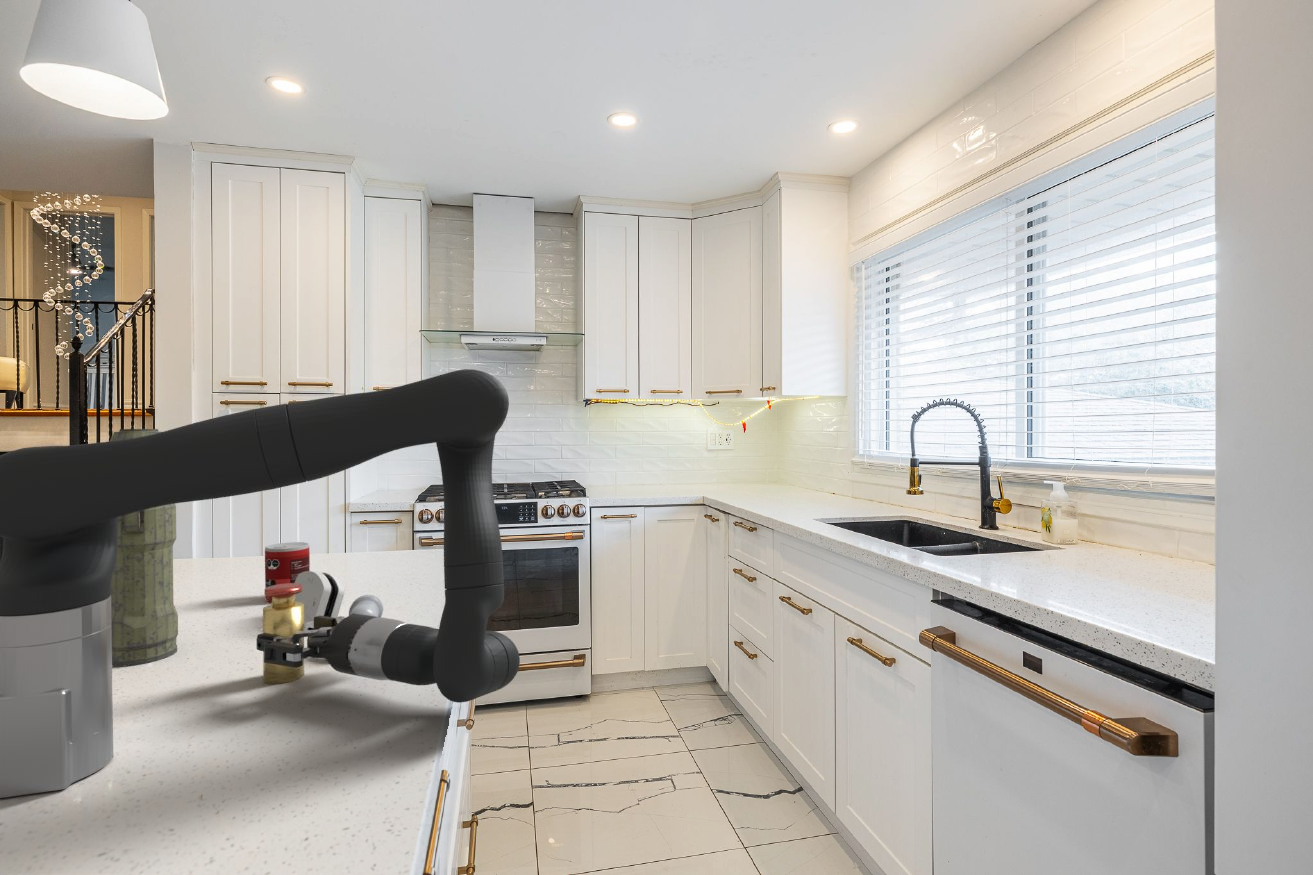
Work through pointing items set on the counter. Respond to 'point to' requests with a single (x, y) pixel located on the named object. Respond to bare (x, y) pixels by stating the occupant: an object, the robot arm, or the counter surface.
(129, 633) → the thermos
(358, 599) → the grey octagonal holder
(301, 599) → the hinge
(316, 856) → the counter surface
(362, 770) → the counter surface
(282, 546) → the canned food
